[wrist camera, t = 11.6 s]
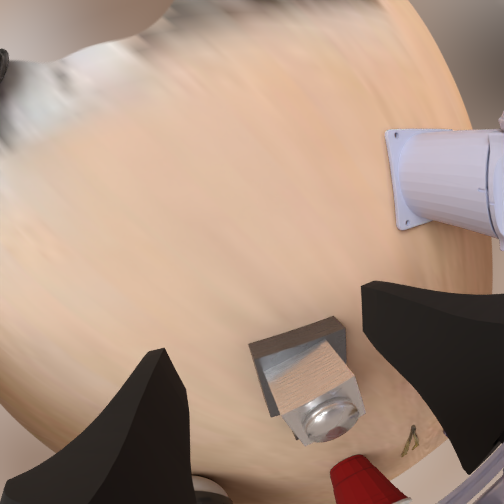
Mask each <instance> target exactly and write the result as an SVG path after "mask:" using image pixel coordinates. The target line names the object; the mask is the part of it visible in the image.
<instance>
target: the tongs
mask: <svg viewBox="0 0 504 504" xmlns="http://www.w3.org/2000/svg"><path fill="white" fill-rule="evenodd" d="M415 430H416V428H415V426H414V425H412V428H411V433H410V436H409V439H408V442H407V444H406V446H405V448H404V451H403V453H402V457H403V456H404V455H406V454H407V451H408V448H409V444H410V441H411V439H412V434H413V436H414V439H415V444H416V445H415V446H414V448H415V447H417V446H418V445H419V441H418V438H417V436H416V434H415ZM414 448H413V449H414ZM413 449H412V450H413Z"/></svg>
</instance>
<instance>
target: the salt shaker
mask: <svg viewBox="0 0 504 504" xmlns="http://www.w3.org/2000/svg"><path fill="white" fill-rule="evenodd" d="M8 61H9V57H8V53H7V51H6V50H4V49H0V83H1V81H2V79H3V77H4V75H5V73H6V70H7V66H8Z"/></svg>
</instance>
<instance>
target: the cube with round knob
mask: <svg viewBox="0 0 504 504" xmlns="http://www.w3.org/2000/svg"><path fill="white" fill-rule="evenodd" d="M264 374H265V377H266V379H267V382H268V384H269V387H270V389H271V392H272V394H273V397H274V400H275V402H276V405H277V407H278V410H279V412H280V415H281V416H282V418H283V419H284V420H285V422H286V423H287V424H288V426H289V427H290V428H291V429H292V431H293V432H294V433H295V434H296V436H297V437H298V438H299V439H300V441H301V442H302V443H303V444H304V446H307V445H309V444H311V443H313V442H326V441H330V440H333V439H335V438H337V437H339V436H341V435H343V434H344V433H346V432H347V431H348V430H349V429H351V428H352V427H353V426H354V424H355V423H356V422H357V420H358V418H359V417H361V416H362V415H364V414H365V413H366V411H365V408H364V404H363V401H362V398H361V394H360V391H359V388H358V384H357V381H356V378H355V375H354V374H353V373H352V371H351V370H350V369H349V368H348V367H347V365H346V364H345V363H344V362H343V360H342V359H341V358H340V357H339V355H338V354H337V353H336V352H335V350H334V349H333V348H332V347H331V345H330V344H329V343H328V342H327V340H326V339H324V340H322V341H320V342H319V343H317V344H315V345H313V346H311V347H310V348H308V349H306V350H304V351H302V352H301V353H299V354H297V355H295V356H293V357H291V358H289V359H287V360H286V361H284V362H282V363H280V364H278V365H276V366H274V367H272V368H270V369H268V370H266V371H264Z"/></svg>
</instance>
